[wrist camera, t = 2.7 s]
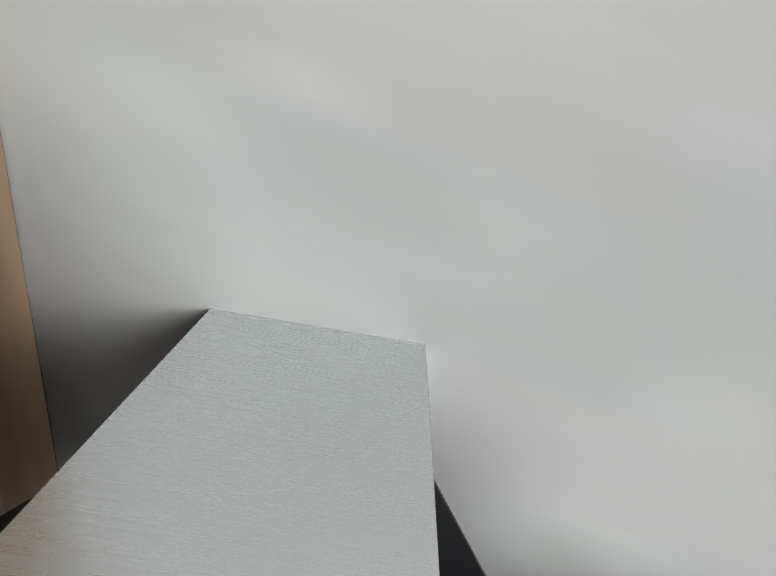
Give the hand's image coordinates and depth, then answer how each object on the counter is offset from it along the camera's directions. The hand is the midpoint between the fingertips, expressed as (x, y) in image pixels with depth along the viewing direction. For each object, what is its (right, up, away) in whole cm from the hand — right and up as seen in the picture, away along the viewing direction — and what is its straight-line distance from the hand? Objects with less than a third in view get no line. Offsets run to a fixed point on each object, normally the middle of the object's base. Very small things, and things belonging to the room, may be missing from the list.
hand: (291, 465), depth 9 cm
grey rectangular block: (0, +1, +1) cm, 2 cm away
